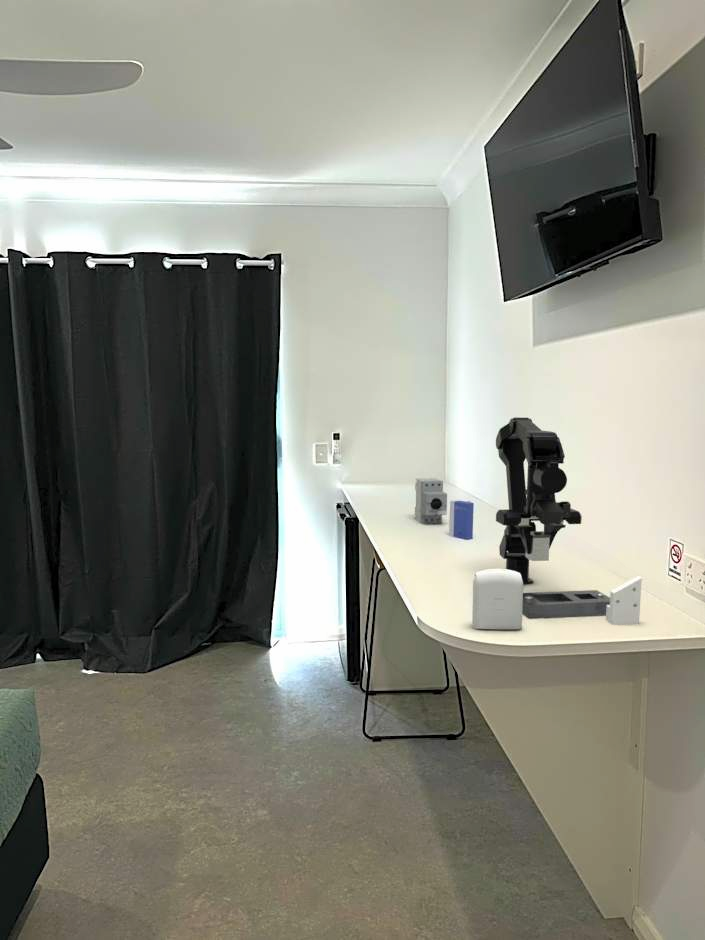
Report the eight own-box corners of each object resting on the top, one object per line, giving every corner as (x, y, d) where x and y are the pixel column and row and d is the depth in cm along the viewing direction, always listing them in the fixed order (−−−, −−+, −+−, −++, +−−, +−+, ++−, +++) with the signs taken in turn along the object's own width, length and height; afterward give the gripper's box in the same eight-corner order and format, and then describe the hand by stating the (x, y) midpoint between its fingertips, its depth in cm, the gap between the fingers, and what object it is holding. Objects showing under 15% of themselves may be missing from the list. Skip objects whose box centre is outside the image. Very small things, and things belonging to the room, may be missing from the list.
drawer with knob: (524, 556, 178) (525, 530, 177) (541, 556, 178) (543, 529, 178) (531, 561, 173) (532, 534, 173) (549, 560, 174) (551, 533, 173)
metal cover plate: (513, 606, 172) (514, 591, 171) (595, 602, 175) (596, 588, 175) (529, 618, 163) (529, 603, 162) (615, 614, 166) (616, 599, 166)
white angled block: (660, 613, 160) (641, 578, 159) (618, 636, 160) (599, 601, 159) (652, 607, 163) (634, 573, 162) (611, 630, 164) (593, 596, 163)
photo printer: (473, 630, 155) (474, 571, 154) (470, 623, 159) (472, 566, 158) (523, 631, 155) (525, 572, 153) (519, 624, 159) (522, 567, 157)
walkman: (472, 538, 243) (473, 501, 242) (466, 539, 242) (467, 502, 240) (454, 534, 249) (455, 498, 248) (448, 535, 248) (449, 499, 246)
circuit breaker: (427, 527, 262) (428, 484, 260) (414, 519, 275) (415, 478, 274) (448, 526, 263) (449, 483, 262) (434, 518, 277) (435, 478, 275)
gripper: (514, 492, 164) (511, 563, 166) (594, 491, 167) (591, 560, 169) (496, 485, 175) (493, 551, 177) (571, 484, 178) (568, 549, 180)
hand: (537, 553), depth 176 cm, fingers closed on drawer with knob, 4 cm apart
